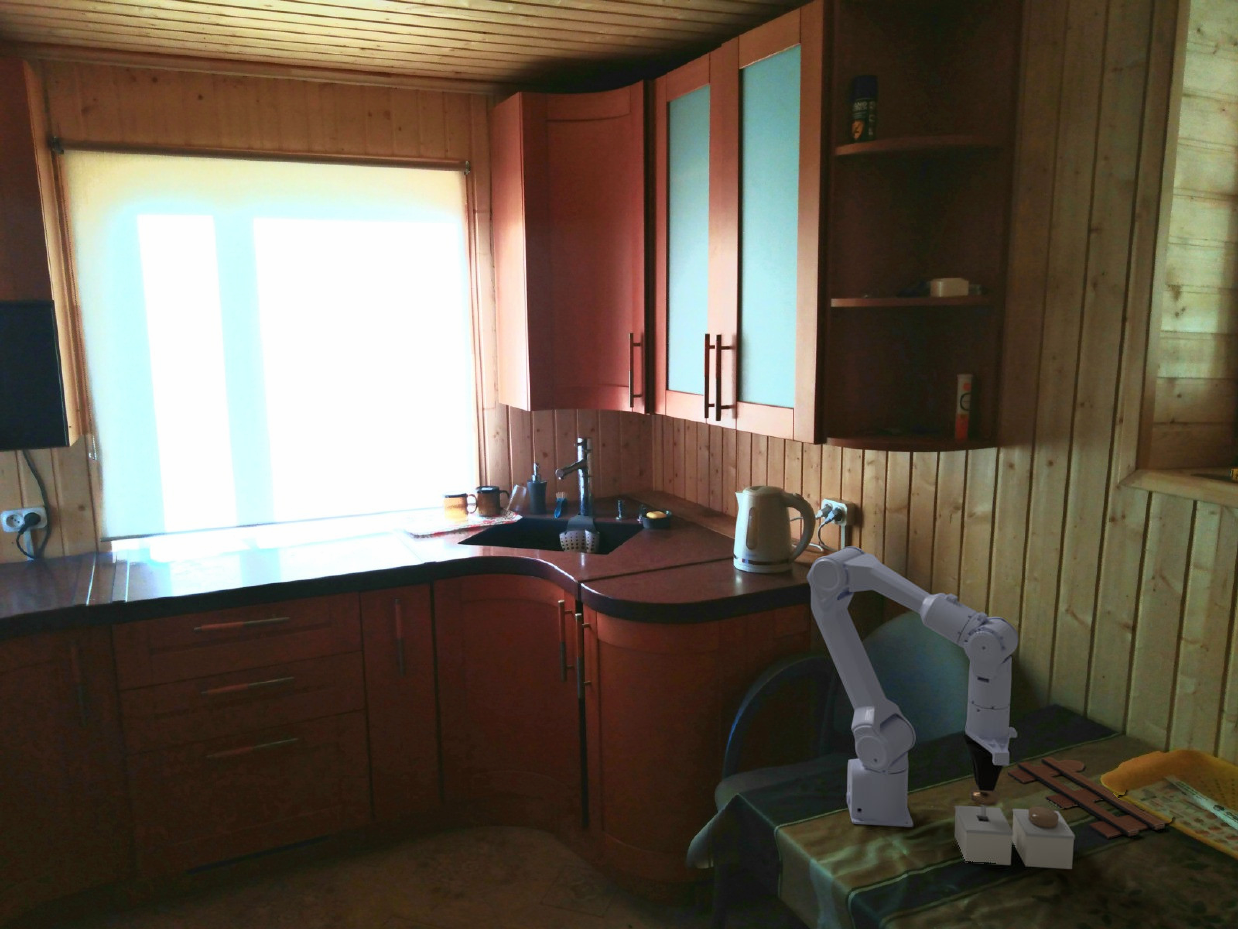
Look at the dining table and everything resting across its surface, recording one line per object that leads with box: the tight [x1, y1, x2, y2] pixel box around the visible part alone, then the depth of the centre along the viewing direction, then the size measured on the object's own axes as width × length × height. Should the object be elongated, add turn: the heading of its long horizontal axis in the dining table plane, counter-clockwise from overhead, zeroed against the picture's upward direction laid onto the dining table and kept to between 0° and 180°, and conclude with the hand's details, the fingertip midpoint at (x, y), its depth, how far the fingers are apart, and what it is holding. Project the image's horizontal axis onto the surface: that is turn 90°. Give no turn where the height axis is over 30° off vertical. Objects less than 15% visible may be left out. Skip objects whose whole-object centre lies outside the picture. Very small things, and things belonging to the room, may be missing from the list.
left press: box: [954, 805, 1013, 866], centre depth 129 cm, size 7×8×5 cm
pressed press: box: [1012, 806, 1076, 870], centre depth 128 cm, size 7×8×7 cm
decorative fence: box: [1007, 756, 1168, 840], centre depth 143 cm, size 23×2×15 cm
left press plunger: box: [969, 784, 1000, 822], centre depth 128 cm, size 4×4×6 cm
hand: (984, 787), depth 127 cm, fingers closed
